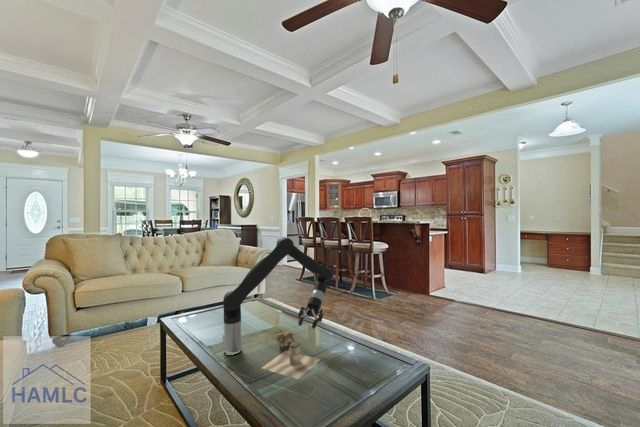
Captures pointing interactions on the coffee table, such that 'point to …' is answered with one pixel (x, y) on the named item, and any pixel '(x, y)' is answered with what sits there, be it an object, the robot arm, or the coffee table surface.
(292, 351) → the white block
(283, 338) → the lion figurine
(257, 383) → the coffee table surface
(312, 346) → the coffee table surface
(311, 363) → the wooden board
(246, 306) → the coffee table surface
